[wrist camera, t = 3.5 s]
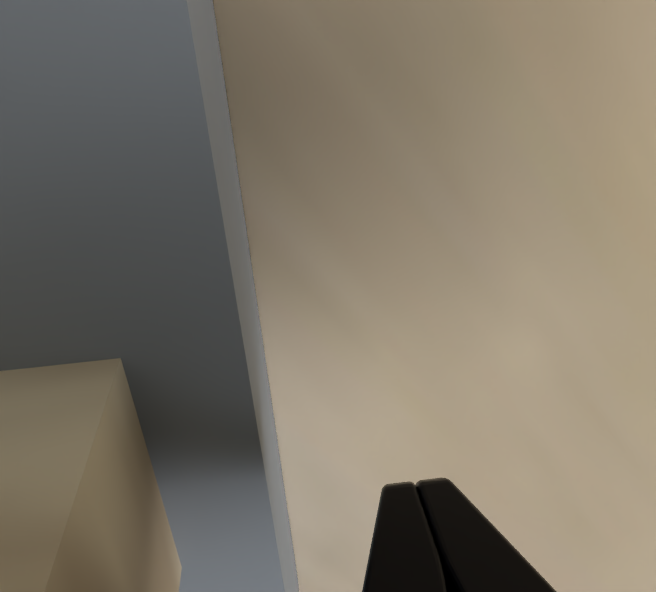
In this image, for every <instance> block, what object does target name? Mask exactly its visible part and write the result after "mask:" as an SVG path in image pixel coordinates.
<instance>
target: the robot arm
mask: <svg viewBox="0 0 656 592" xmlns="http://www.w3.org/2000/svg"><path fill="white" fill-rule="evenodd" d="M362 592H556V591H555V590H554V589H553V588H552V587H551V585H550V584H549V583H548V582H547V581H546V580H545V579H544V578H543V577H542V576H541V575H540V574H539V573H538V572H537V571H536V570H535V569H534V568H533V567H532V566H531V565H530V563H529V562H528V561H527V560H526V559H525V558H524V557H523V556H522V555H521V554H520V553H519V552H518V551H517V550H516V549H515V548H514V547H513V546H512V545H511V544H510V543H509V541H508V540H507V539H506V538H505V537H504V536H503V535H502V534H501V533H500V532H499V531H498V530H497V529H496V528H495V527H494V526H493V525H492V524H491V523H490V522H489V521H488V519H487V518H486V517H485V516H484V515H483V514H482V513H481V512H480V511H479V510H478V509H477V508H476V507H475V506H474V505H473V504H472V503H471V502H470V501H469V500H468V499H467V497H466V496H465V495H464V494H463V493H462V492H461V491H460V490H459V489H458V488H457V487H456V486H455V485H454V484H453V483H452V482H451V481H450V480H449V479H446V478H435V479H427V480H420V481H418V482H417V483H416V485H415V484H414V483H412V482H402V483H393V484H387V485H385V486H384V487H383V488H382V492H381V497H380V502H379V507H378V512H377V518H376V523H375V528H374V533H373V538H372V544H371V549H370V554H369V559H368V564H367V570H366V575H365V580H364V585H363V590H362Z"/></svg>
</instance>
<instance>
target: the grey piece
mask: <svg viewBox="0 0 656 592" xmlns="http://www.w3.org/2000/svg"><path fill="white" fill-rule="evenodd" d="M117 358H121V361H122V364H123V368H124V371H125V375H126V378H127V381H128V385H129V388H130V392H131V395H132V399H133V402H134V405H135V409H136V412H137V416H138V419H139V423H140V426H141V429H142V433H143V436H144V440H145V443H146V447H147V450H148V453H149V457H150V460H151V464H152V467H153V470H154V474H155V477H156V481H157V484H158V488H159V491H160V494H161V498H162V501H163V505H164V508H165V512H166V515H167V518H168V522H169V525H170V529H171V532H172V536H173V539H174V542H175V546H176V549H177V553H178V556H179V559H180V563H181V566H182V570H181V578H180V586H179V592H299V587H298V578H297V571H296V564H295V558H294V551H293V544H292V537H291V530H290V523H289V517H288V510H287V503H286V496H285V489H284V483H283V476H282V469H281V462H280V455H279V448H278V442H277V435H276V428H275V421H274V414H273V408H272V401H271V394H270V387H269V380H268V374H267V367H266V360H265V353H264V346H263V339H262V333H261V326H260V319H259V312H258V305H257V299H256V292H255V285H254V278H253V271H252V264H251V258H250V251H249V244H248V237H247V230H246V224H245V217H244V210H243V203H242V196H241V189H240V183H239V176H238V169H237V162H236V155H235V149H234V142H233V135H232V128H231V121H230V115H229V108H228V101H227V94H226V87H225V80H224V74H223V67H222V60H221V53H220V46H219V40H218V33H217V26H216V19H215V12H214V5H213V0H0V371H6V370H15V369H25V368H34V367H43V366H52V365H61V364H71V363H80V362H89V361H98V360H108V359H117Z"/></svg>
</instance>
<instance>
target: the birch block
mask: <svg viewBox="0 0 656 592" xmlns="http://www.w3.org/2000/svg"><path fill="white" fill-rule="evenodd" d="M181 570H182V566H181V563H180V559H179V556H178V553H177V549H176V546H175V542H174V539H173V536H172V532H171V529H170V525H169V522H168V518H167V515H166V512H165V508H164V505H163V501H162V498H161V494H160V491H159V488H158V484H157V481H156V477H155V474H154V470H153V467H152V464H151V460H150V457H149V453H148V450H147V447H146V443H145V440H144V436H143V433H142V429H141V426H140V423H139V419H138V416H137V412H136V409H135V405H134V402H133V399H132V395H131V392H130V388H129V385H128V381H127V378H126V375H125V371H124V368H123V364H122V361H121V358H117V359H108V360H98V361H89V362H80V363H71V364H61V365H52V366H43V367H34V368H25V369H15V370H6V371H0V592H179V586H180V578H181Z"/></svg>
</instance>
